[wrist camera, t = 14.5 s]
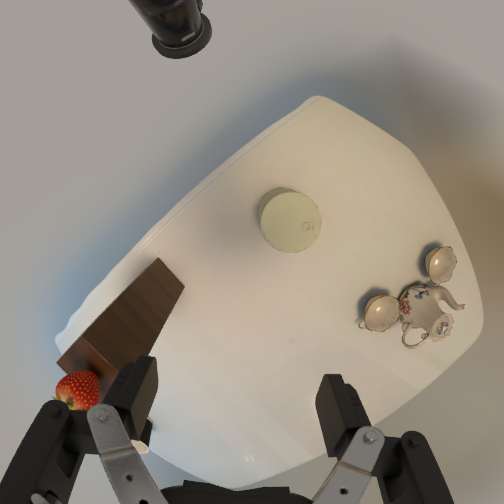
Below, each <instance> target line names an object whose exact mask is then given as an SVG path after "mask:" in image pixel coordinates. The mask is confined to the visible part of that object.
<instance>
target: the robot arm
mask: <svg viewBox="0 0 504 504" xmlns="http://www.w3.org/2000/svg"><path fill="white" fill-rule="evenodd" d="M129 2H130V3H131V4H132V6H133V7H134V8H135V10H136V11H137V12H138V13H139V15H140V16H141V17H142V19H143V20H144V21H145V23H146V24H147V25H148V27H149V28H150V29H151V31H152V32H153V34H154V35H155V36H156V38H157V39H158V42H159V43H160V44H161V45H162V46H163V47H164V48H167V49H170V50H180V49H184V48H187V47H189V46H191V45H193V44H194V43H196V42H197V41H198V40H199V39H200V38H201V36H202V34H203V32H204V23H203V21H202V19H201V16H200V13H199V12H201V9H202V5H203V3H202V0H129ZM157 389H158V373H157V361H156V358H155V357H151V356H146V355H139V357H138V359H137V361H136V363H135V364H134V363H130V362H129V363H127V364H126V365H125V366H123V367H122V368H121V369H120V371H119V373H118V374H117V376H116V378H115V380H114V382H113V383H112V385H111V387H110V388H109V390H108V392H107V394H106V396H105V397H104V399H103V401H102V403H101V404H97V405H94V406H92V407H91V408H90V409H89V410H88V411H81V410H70V409H69V407H68V405H67V404H66V403H65V402H63V401H60V400H50V401H48V402H46V403H45V404H44V405H43V406H42V408H41V409H40V411H39V413H38V414H37V416H36V418H35V419H34V421H33V423H32V424H31V426H30V428H29V429H28V431H27V433H26V435H25V437H24V438H23V440H22V442H21V444H20V445H19V448H18V449H17V451H16V453H15V455H14V457H13V459H12V461H11V463H10V465H9V467H8V469H7V471H6V473H5V475H4V477H3V479H2V481H1V483H0V504H68V501H69V498H70V495H71V492H72V489H73V486H74V483H75V480H76V477H77V474H78V471H79V469H80V466H81V464H82V461H83V458H84V456H85V454H97V455H99V457H100V459H101V462H102V464H103V467H104V469H105V472H106V474H107V476H108V479H109V481H110V483H111V485H112V487H113V489H114V492H115V494H116V496H117V498H118V500H119V502H120V503H121V504H358V503H359V501H360V500H361V498H362V496H363V494H364V492H365V490H366V488H367V486H368V484H369V482H370V480H371V478H372V476H375V477H377V480H378V484H379V488H380V491H381V495H382V499H383V503H384V504H454V502H453V499H452V497H451V494H450V492H449V489H448V487H447V485H446V482H445V480H444V477H443V475H442V473H441V471H440V468H439V466H438V464H437V461H436V460H435V457H434V455H433V453H432V451H431V448H430V446H429V444H428V442H427V440H426V438H425V437H424V436H423V435H422V434H421V433H419V432H416V431H408V432H406V433H404V434H403V435H402V437H401V438H396V437H387V436H384V434H383V433H382V432H381V431H380V430H379V429H377V428H375V427H372V426H371V423H370V421H369V419H368V416H367V414H366V412H365V409H364V407H363V405H362V403H361V400H360V399H359V396H358V394H357V391H356V390H355V389H354V388H353V387H352V386H351V385H350V384H345V383H344V381H343V379H342V376H341V375H340V374H325V375H324V376H323V379H322V382H321V384H320V387H319V390H318V393H317V395H316V401H315V405H316V410H317V414H318V418H319V422H320V426H321V430H322V433H323V437H324V441H325V445H326V449H327V453H328V457H337V460H338V461H337V463H336V464H335V466H334V468H333V470H332V471H331V472H330V474H329V475H328V477H327V478H326V480H325V481H324V483H323V484H322V486H321V487H320V488H319V490H318V491H317V493H316V494H315V495H314V497H313V498H312V499H311V500H310V499H308V498H306V497H304V496H301V495H298V494H295V493H290V491H289V487H261V488H256V489H250V490H243V491H233V490H230V489H226V488H223V487H219V486H216V485H213V484H210V483H202V482H194V481H188V480H184V482H183V485H181V486H172V487H167V488H164V489H161V490H159V488H158V487H157V485H156V483H155V482H154V480H153V478H152V477H151V475H150V473H149V472H148V470H147V468H146V466H145V465H144V463H143V461H142V459H141V457H140V455H139V453H138V452H137V450H136V448H135V447H134V446H133V444H132V442H131V440H135V441H139V440H140V437H141V434H142V431H143V429H144V426H145V423H146V420H147V417H148V415H149V412H150V409H151V406H152V404H153V401H154V398H155V396H156V393H157Z"/></svg>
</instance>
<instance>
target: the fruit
mask: <svg viewBox="0 0 504 504" xmlns="http://www.w3.org/2000/svg"><path fill="white" fill-rule="evenodd" d="M99 390H100V384H99V380H98V377H97V376H96V375H95V374H94V373H93V372H91V371H86V370H81V371H76V372H73V373H71V374H69V375H67V376H65V377H64V378H62V379H61V380H60V381H59V383H58V385H57V386H56V398H54V397H52V398H54V400H60V401H63V402H65V403H66V404H67V405H68V407H69V409H70V410H81V411H88V410H89V409H90V408H91V407H92V406H94V405H97V404H98V401H99Z"/></svg>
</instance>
